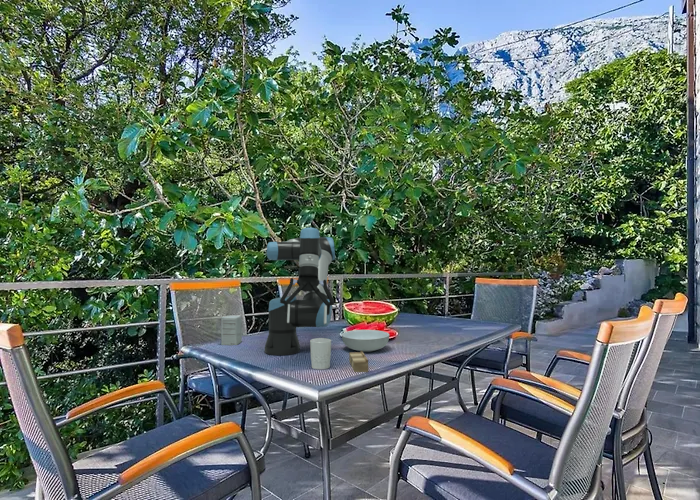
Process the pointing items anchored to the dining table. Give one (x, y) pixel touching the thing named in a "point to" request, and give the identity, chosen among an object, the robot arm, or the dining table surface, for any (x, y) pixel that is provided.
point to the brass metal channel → (358, 361)
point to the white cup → (320, 353)
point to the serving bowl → (365, 340)
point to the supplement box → (231, 330)
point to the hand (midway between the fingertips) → (306, 323)
